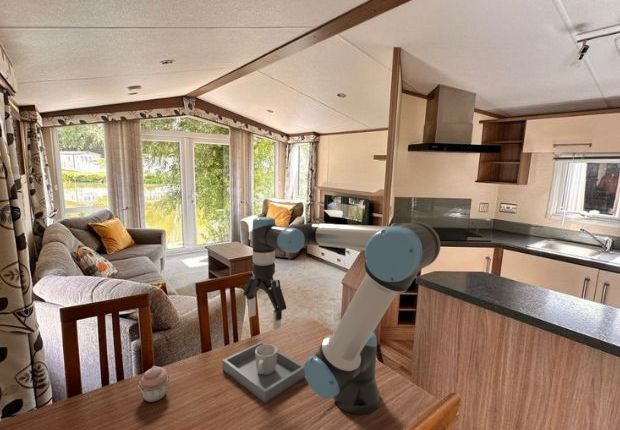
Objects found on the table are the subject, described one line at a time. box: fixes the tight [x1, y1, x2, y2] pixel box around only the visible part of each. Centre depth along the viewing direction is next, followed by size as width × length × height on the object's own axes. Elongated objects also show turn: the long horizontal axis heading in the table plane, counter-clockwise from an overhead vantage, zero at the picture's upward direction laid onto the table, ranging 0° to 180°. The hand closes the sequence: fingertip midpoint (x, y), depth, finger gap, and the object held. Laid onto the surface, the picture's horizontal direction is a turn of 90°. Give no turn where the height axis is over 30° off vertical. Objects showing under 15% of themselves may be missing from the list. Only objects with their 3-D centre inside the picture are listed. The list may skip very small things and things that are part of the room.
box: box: [222, 341, 306, 404], centre depth 112 cm, size 24×18×4 cm
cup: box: [255, 343, 279, 375], centre depth 111 cm, size 11×8×8 cm
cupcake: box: [137, 365, 172, 403], centre depth 99 cm, size 9×9×10 cm
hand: (263, 321), depth 109 cm, fingers open, 13 cm apart
